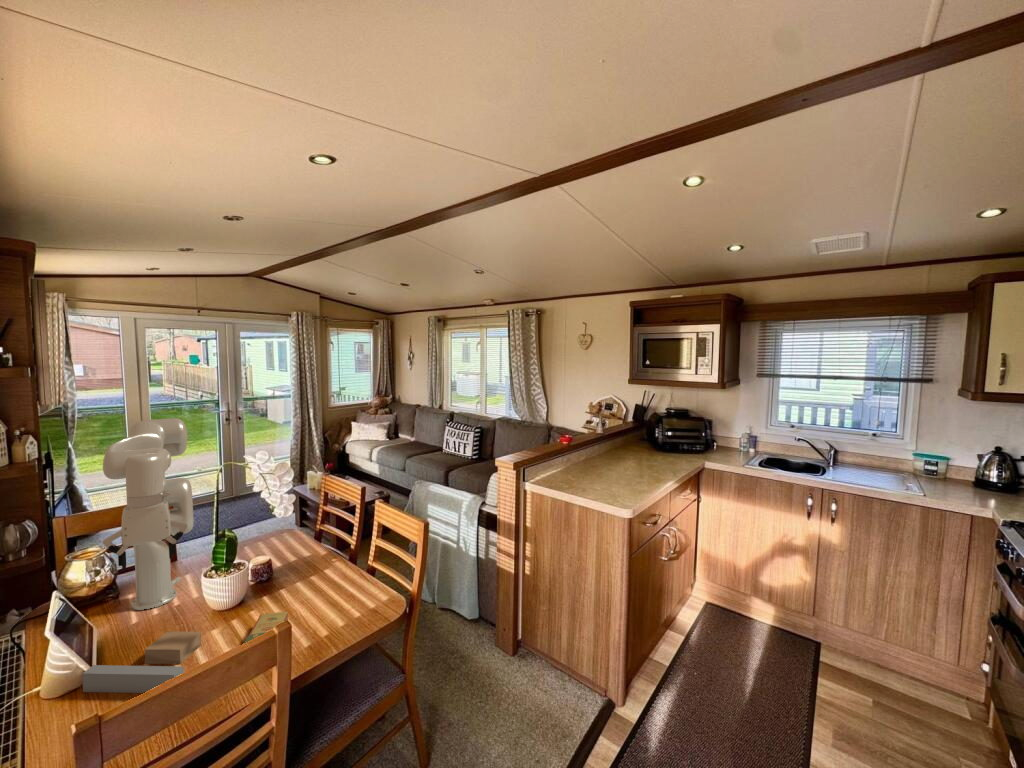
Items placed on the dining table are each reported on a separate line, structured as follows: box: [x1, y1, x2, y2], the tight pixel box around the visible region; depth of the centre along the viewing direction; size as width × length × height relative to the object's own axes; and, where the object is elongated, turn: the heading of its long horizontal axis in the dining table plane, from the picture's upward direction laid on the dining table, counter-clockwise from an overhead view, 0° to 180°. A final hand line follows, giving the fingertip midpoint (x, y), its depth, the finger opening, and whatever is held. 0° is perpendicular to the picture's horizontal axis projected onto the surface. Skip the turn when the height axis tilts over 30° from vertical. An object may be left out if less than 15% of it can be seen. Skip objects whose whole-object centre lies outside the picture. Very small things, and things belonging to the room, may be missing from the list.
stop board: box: [81, 664, 185, 694], centre depth 111 cm, size 3×24×5 cm, turn 89°
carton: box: [244, 611, 289, 643], centre depth 131 cm, size 8×16×4 cm, turn 14°
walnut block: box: [144, 630, 202, 665], centre depth 124 cm, size 8×10×4 cm
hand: (148, 562), depth 115 cm, fingers open, 9 cm apart
